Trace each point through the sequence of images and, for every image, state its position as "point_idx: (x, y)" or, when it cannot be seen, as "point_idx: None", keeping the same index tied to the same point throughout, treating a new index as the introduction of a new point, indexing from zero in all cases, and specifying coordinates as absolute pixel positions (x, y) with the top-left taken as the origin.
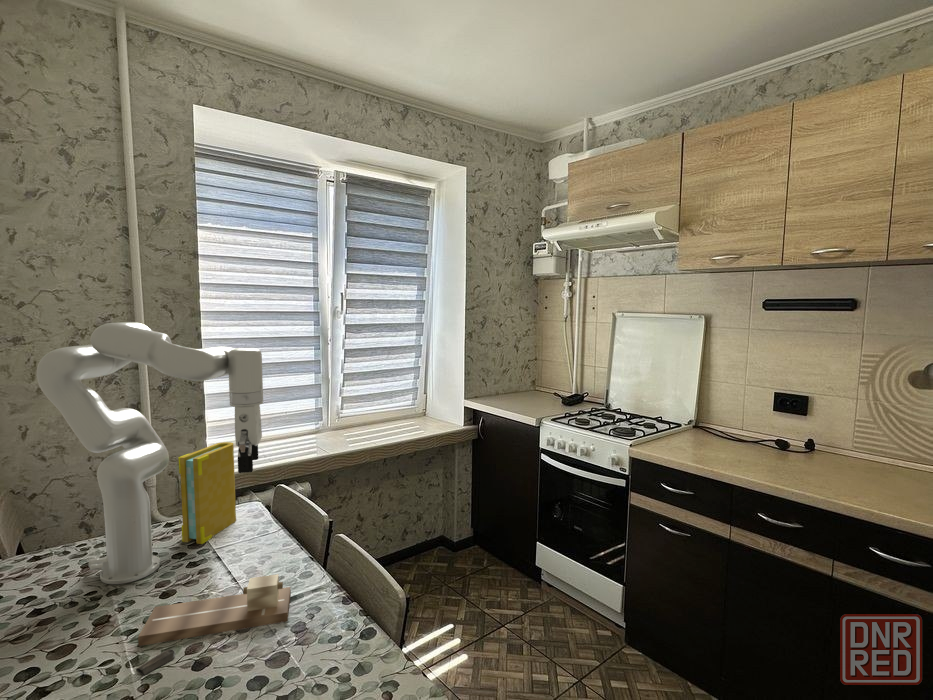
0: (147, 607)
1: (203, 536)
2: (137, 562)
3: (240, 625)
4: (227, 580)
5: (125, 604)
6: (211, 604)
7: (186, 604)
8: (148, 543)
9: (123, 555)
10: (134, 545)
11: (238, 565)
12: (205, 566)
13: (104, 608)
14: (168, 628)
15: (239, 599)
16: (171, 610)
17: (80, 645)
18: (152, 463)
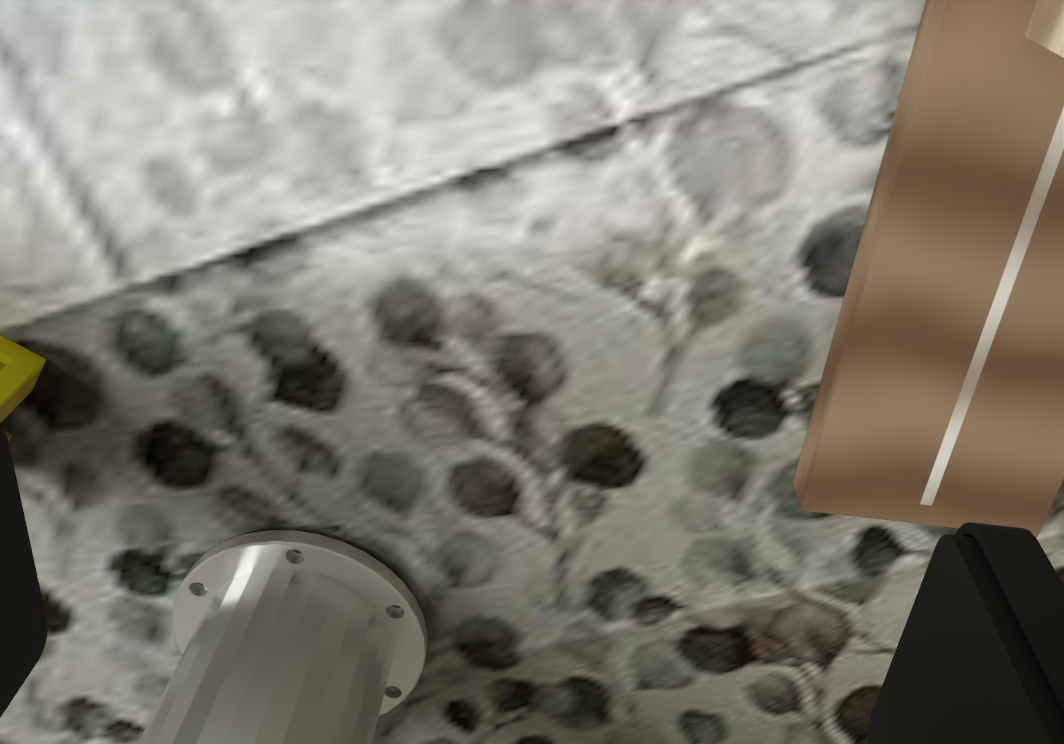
0: (695, 519)
1: (9, 376)
2: (363, 650)
3: None
4: (582, 183)
5: (622, 598)
6: (938, 263)
7: (861, 383)
8: (283, 674)
9: (370, 739)
10: (344, 739)
11: (402, 127)
12: (354, 317)
13: (620, 657)
14: (1054, 434)
15: (982, 108)
16: (880, 441)
17: (873, 677)
18: None
